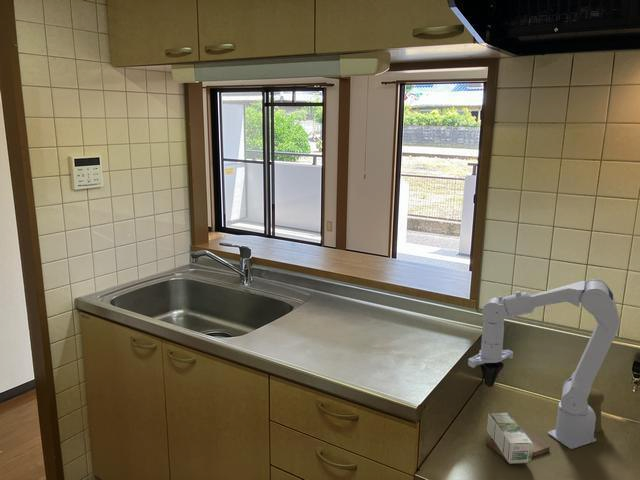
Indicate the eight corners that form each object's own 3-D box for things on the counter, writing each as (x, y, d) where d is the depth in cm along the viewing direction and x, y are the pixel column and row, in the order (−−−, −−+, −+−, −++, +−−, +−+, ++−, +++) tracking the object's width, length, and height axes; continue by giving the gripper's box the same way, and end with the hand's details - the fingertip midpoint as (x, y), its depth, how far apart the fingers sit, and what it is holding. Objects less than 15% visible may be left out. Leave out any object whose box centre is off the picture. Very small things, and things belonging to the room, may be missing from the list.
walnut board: (523, 432, 144) (523, 428, 144) (549, 451, 136) (549, 446, 136) (486, 443, 139) (486, 439, 139) (510, 463, 131) (511, 459, 131)
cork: (572, 421, 150) (577, 386, 147) (591, 419, 151) (596, 384, 148) (587, 433, 144) (591, 397, 141) (606, 431, 145) (611, 395, 142)
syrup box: (486, 431, 142) (509, 465, 128) (487, 411, 141) (511, 444, 127) (506, 430, 143) (531, 464, 129) (508, 410, 142) (534, 443, 128)
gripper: (502, 331, 152) (498, 374, 155) (462, 339, 147) (459, 384, 150) (520, 340, 146) (516, 384, 149) (479, 349, 140) (475, 395, 143)
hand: (488, 385), depth 149 cm, fingers closed
